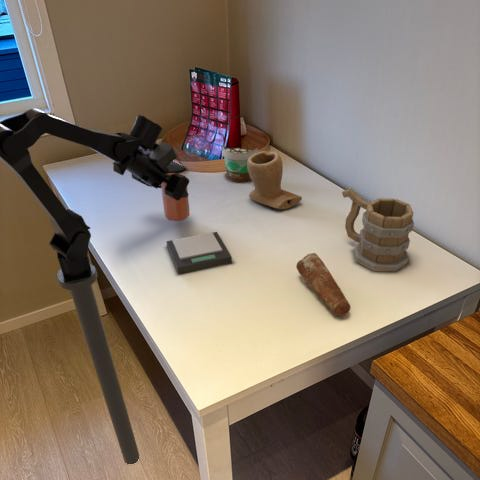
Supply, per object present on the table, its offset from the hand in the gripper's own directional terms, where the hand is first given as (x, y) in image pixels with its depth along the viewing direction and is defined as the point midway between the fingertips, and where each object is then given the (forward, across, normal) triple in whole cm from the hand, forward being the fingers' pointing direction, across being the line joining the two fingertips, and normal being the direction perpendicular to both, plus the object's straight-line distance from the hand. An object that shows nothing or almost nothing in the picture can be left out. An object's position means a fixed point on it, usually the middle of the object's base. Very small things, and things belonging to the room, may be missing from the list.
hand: (178, 191), depth 135 cm
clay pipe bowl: (+24, -12, -12) cm, 29 cm away
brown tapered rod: (+7, -51, +6) cm, 52 cm away
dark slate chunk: (+20, +37, -8) cm, 42 cm away
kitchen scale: (0, -17, +13) cm, 22 cm away
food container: (+28, +6, -15) cm, 32 cm away
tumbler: (+4, 0, +6) cm, 7 cm away
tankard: (+22, -49, -9) cm, 54 cm away
